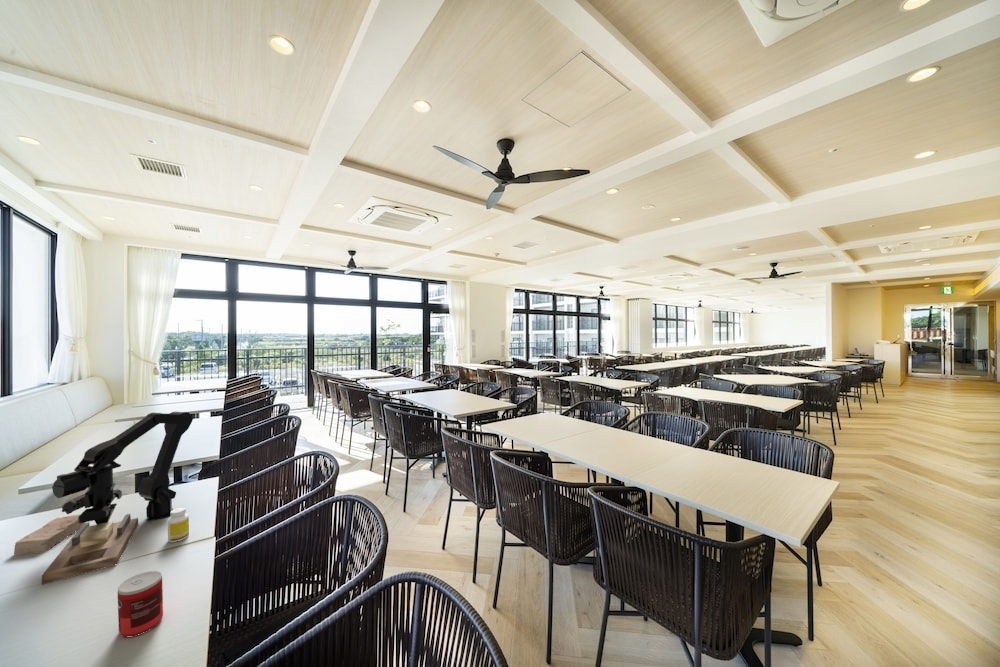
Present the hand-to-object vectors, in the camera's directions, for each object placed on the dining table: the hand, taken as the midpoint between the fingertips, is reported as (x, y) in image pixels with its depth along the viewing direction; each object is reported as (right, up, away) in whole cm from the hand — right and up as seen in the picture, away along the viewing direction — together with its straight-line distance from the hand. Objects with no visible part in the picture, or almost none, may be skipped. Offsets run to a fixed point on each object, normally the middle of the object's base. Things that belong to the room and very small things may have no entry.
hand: (102, 530), depth 125 cm
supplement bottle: (+25, -4, +1) cm, 25 cm away
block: (+3, -1, -4) cm, 5 cm away
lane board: (+4, -4, -5) cm, 8 cm away
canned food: (+48, -5, -35) cm, 59 cm away
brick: (-18, -4, +1) cm, 18 cm away
